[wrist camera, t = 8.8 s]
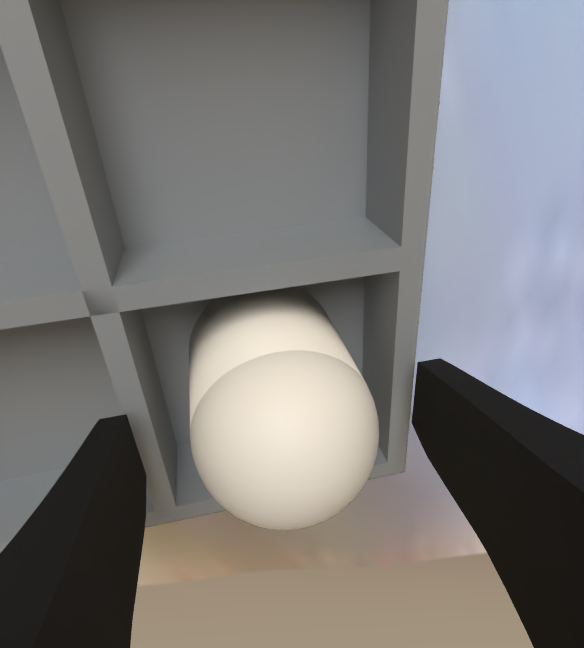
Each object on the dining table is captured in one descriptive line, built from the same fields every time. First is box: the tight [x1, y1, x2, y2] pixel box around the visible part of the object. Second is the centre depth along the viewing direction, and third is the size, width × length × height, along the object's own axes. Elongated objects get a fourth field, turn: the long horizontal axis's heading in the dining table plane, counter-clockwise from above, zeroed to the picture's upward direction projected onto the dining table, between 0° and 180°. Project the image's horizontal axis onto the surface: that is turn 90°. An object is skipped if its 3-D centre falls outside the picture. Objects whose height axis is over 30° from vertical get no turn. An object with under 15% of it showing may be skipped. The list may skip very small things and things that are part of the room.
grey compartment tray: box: [0, 0, 449, 553], centre depth 9 cm, size 15×22×3 cm
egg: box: [189, 287, 379, 530], centre depth 11 cm, size 4×4×6 cm
